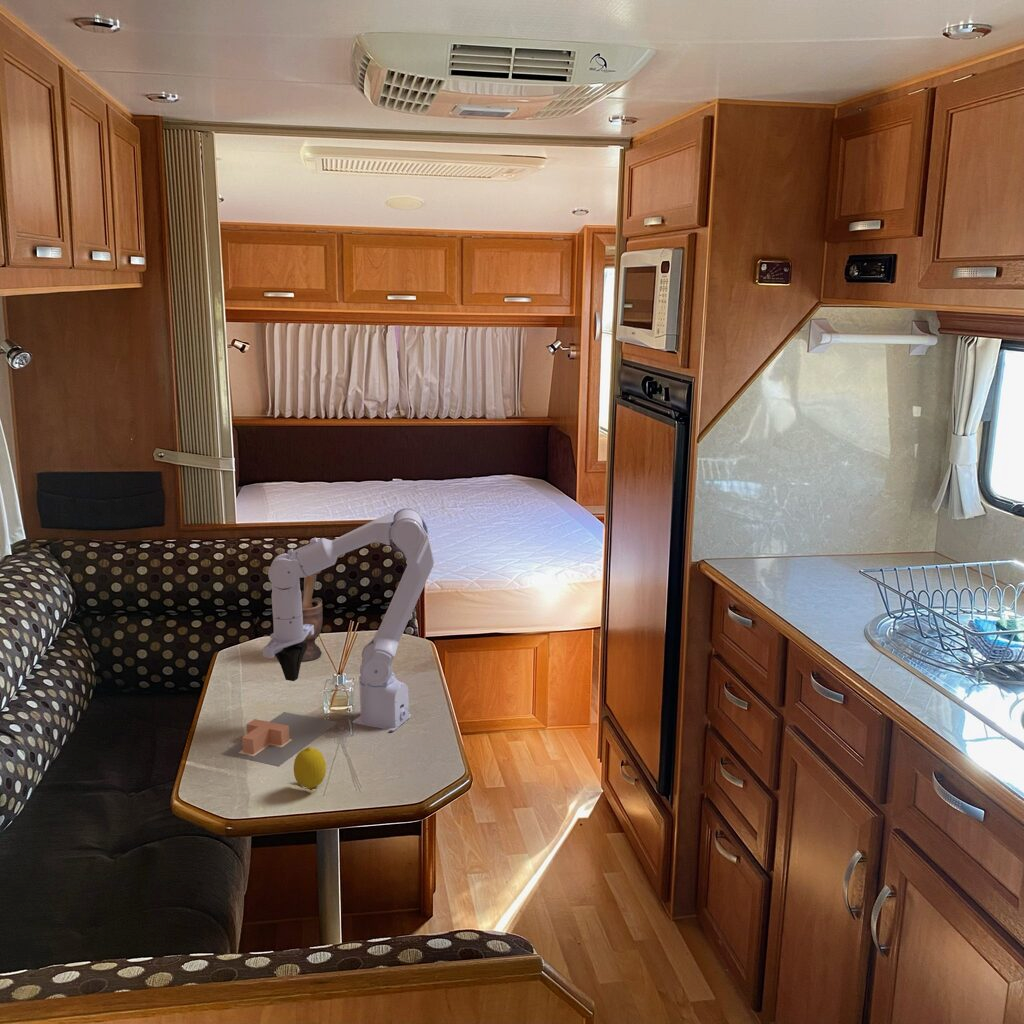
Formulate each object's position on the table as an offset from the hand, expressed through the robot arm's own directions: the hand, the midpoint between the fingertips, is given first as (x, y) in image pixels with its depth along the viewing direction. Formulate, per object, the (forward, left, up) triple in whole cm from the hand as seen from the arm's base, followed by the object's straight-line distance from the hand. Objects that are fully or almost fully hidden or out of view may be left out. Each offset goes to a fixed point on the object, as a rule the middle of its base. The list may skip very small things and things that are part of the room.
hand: (291, 679), depth 194 cm
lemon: (-18, +21, -10) cm, 29 cm away
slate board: (-2, +7, -10) cm, 12 cm away
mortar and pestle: (+20, -34, -10) cm, 41 cm away
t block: (0, +11, -9) cm, 14 cm away
